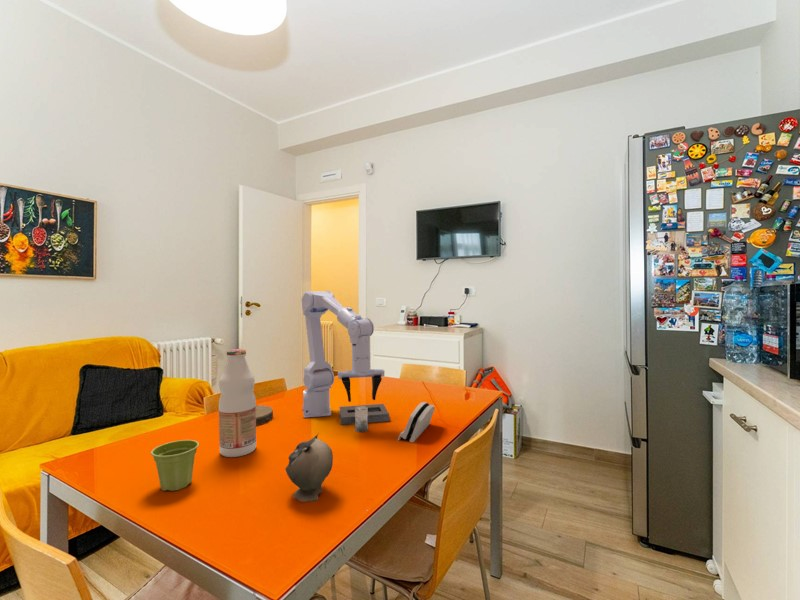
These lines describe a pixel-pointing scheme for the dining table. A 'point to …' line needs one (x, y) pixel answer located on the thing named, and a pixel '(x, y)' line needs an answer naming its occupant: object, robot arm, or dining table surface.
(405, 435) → the white black-striped wedge
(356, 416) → the cylinder
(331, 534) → the dining table surface
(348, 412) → the fitting block
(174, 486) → the plant pot
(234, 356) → the fruit juice
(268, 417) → the grey round disc
